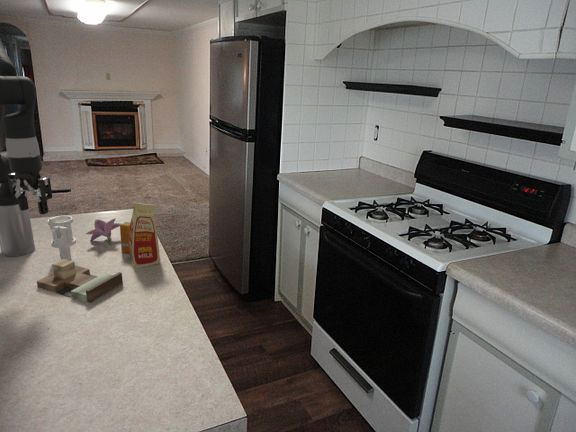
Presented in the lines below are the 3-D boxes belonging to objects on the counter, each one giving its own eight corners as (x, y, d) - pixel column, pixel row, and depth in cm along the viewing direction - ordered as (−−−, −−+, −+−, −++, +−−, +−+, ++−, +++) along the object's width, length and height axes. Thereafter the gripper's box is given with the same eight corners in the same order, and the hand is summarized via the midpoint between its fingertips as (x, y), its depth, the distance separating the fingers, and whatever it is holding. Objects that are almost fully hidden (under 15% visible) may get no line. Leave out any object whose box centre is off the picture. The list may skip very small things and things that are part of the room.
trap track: (37, 287, 120) (35, 276, 118) (72, 270, 130) (71, 260, 129) (90, 302, 113) (88, 291, 112) (122, 283, 123) (121, 272, 122)
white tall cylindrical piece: (48, 261, 136) (41, 217, 131) (67, 253, 142) (60, 210, 137) (65, 265, 133) (58, 220, 128) (83, 257, 139) (77, 214, 135)
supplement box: (130, 253, 143) (128, 225, 140) (121, 252, 144) (118, 224, 141) (135, 249, 146) (133, 222, 143) (126, 248, 147) (124, 221, 144)
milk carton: (133, 268, 133) (128, 207, 127) (129, 257, 141) (123, 199, 135) (163, 263, 137) (159, 203, 131) (157, 252, 145) (153, 196, 139)
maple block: (54, 276, 122) (52, 264, 120) (65, 271, 125) (64, 258, 124) (64, 279, 120) (62, 266, 119) (75, 273, 124) (74, 261, 123)
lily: (129, 239, 158) (119, 215, 158) (124, 238, 147) (113, 213, 146) (97, 252, 155) (86, 228, 155) (89, 252, 144) (78, 226, 144)
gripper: (-8, 153, 114) (4, 212, 119) (29, 158, 109) (40, 219, 114) (18, 149, 121) (28, 205, 126) (55, 154, 116) (64, 211, 121)
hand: (34, 211), depth 120 cm, fingers open, 7 cm apart
